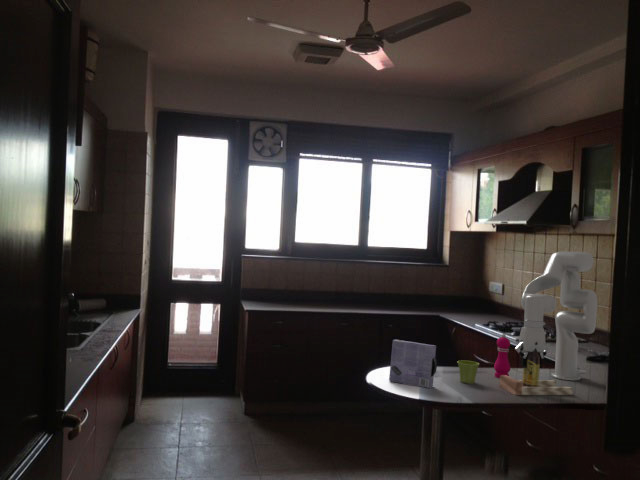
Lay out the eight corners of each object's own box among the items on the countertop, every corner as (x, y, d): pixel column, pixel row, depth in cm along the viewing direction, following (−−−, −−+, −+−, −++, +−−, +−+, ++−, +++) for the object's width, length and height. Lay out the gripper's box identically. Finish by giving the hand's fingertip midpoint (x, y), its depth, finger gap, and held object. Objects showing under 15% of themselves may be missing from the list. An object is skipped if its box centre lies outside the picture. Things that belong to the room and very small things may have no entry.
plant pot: (452, 379, 247) (453, 360, 248) (471, 379, 250) (472, 360, 250) (462, 385, 238) (463, 364, 238) (482, 385, 240) (483, 364, 241)
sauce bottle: (519, 385, 236) (521, 338, 237) (530, 385, 239) (533, 338, 239) (530, 389, 230) (532, 341, 230) (542, 389, 232) (544, 341, 233)
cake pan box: (436, 386, 233) (438, 344, 233) (433, 389, 228) (435, 346, 229) (392, 379, 241) (394, 338, 242) (388, 381, 237) (390, 340, 237)
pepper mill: (497, 374, 263) (499, 332, 263) (512, 377, 258) (514, 334, 259) (491, 376, 257) (493, 333, 258) (506, 379, 253) (508, 335, 253)
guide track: (554, 387, 243) (554, 375, 243) (572, 394, 231) (572, 382, 231) (499, 386, 238) (500, 375, 238) (514, 394, 226) (515, 382, 226)
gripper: (546, 323, 240) (544, 365, 240) (510, 322, 237) (507, 365, 236) (557, 326, 233) (555, 369, 233) (519, 325, 229) (517, 369, 229)
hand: (531, 366), depth 234 cm, fingers closed on sauce bottle, 6 cm apart
